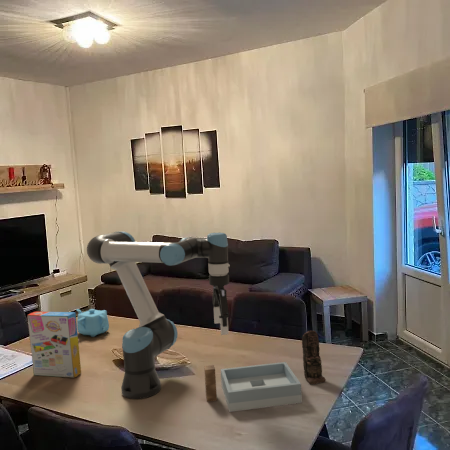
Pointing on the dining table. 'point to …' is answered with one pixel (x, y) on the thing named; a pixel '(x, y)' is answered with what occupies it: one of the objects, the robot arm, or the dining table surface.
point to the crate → (260, 386)
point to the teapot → (92, 322)
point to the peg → (210, 383)
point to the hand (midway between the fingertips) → (221, 328)
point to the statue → (312, 358)
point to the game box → (54, 344)
